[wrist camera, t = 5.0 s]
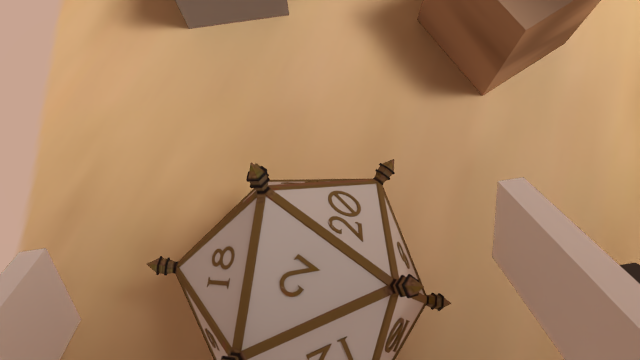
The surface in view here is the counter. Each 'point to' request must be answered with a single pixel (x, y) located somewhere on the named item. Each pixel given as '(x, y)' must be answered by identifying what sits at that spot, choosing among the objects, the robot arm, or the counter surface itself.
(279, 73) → the counter surface
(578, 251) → the robot arm
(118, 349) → the counter surface
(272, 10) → the gray block
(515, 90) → the counter surface
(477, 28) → the walnut block
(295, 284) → the game die
